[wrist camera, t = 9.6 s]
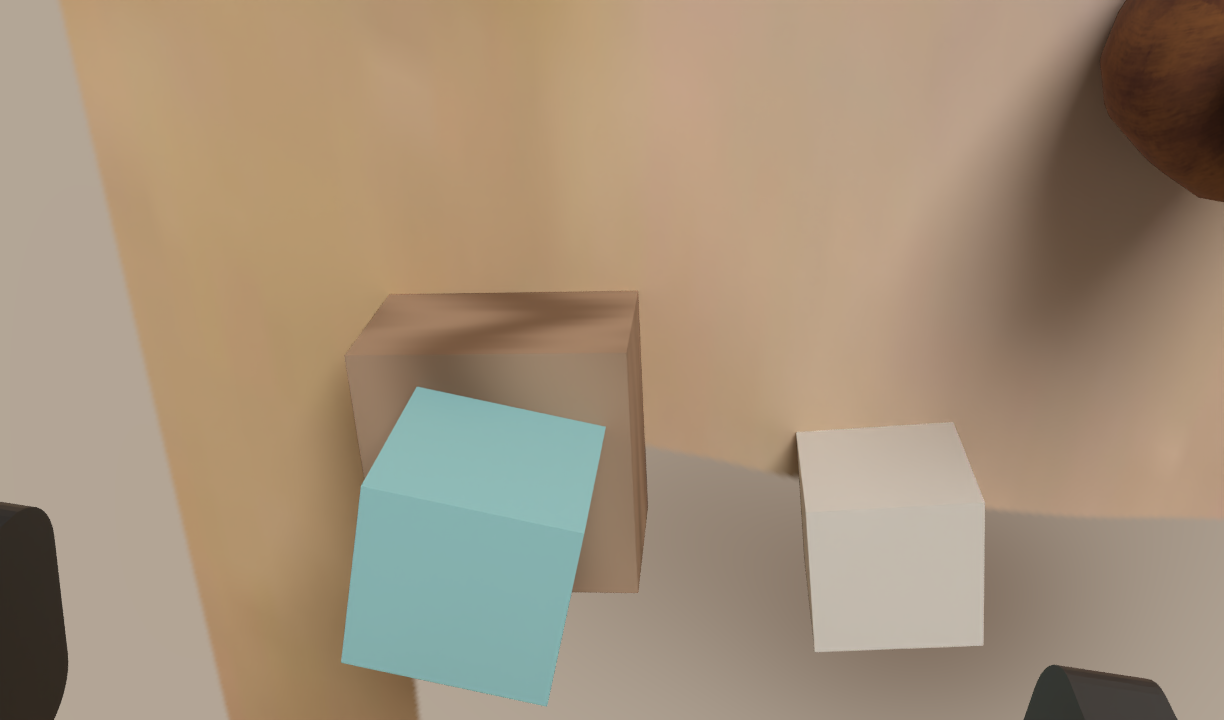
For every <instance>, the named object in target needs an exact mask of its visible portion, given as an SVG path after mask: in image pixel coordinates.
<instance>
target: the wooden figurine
mask: <svg viewBox="0 0 1224 720" xmlns="http://www.w3.org/2000/svg"><path fill="white" fill-rule="evenodd" d="M1100 66H1101V75H1102V85H1103V95H1104V104H1105V106H1106V109H1107V112H1108V114H1109V117H1110V118H1111V119H1112V120H1113V121H1114V122H1115V124H1116V125H1117V126H1118V127H1119V128H1120V129H1121V131H1122V132H1123V133H1124V134H1125V135H1126V136H1127V138H1128V139H1129V140H1130V141H1131V142H1132V143H1133V145H1134V146H1135V147H1136V148H1137V149H1138V150H1139V151H1140V152H1141V154H1142V155H1143V156H1144V157H1145V158H1146V159H1147V160H1148V161H1149V162H1150V163H1152V164H1153V165H1154V166H1155V167H1157V168H1158V169H1159V170H1161V171H1162V172H1163V173H1164V174H1166V175H1167V176H1169V177H1170V178H1172V179H1173V180H1174V181H1176V182H1177V183H1179V184H1180V185H1182V186H1183V187H1184V188H1186V189H1187V190H1189V191H1190V192H1192V193H1193V194H1194V195H1196V196H1197V197H1199V198H1205V199H1210V200H1215V201H1221V202H1224V0H1126V1H1125V3H1124V4H1123V6H1122V8H1121V9H1120V11H1119V13H1118V15H1117V17H1116V20H1115V22H1114V25H1113V27H1112V30H1111V32H1110V35H1109V37H1108V40H1107V42H1106V45H1105V47H1104V49H1103V52H1102V55H1101V59H1100Z"/></svg>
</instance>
